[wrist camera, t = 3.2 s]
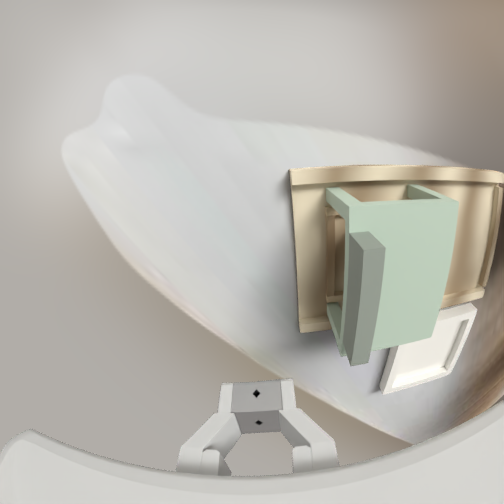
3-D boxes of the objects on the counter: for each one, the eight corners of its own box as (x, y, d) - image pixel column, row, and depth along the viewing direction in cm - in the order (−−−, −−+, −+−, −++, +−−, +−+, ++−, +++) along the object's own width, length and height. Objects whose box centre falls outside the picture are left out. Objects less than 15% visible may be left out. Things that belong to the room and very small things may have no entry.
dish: (470, 302, 24) (477, 309, 22) (445, 366, 28) (450, 373, 26) (397, 320, 24) (402, 329, 23) (379, 385, 29) (382, 394, 27)
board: (495, 170, 18) (503, 173, 16) (476, 291, 23) (482, 297, 22) (289, 169, 19) (291, 171, 18) (298, 323, 25) (300, 333, 23)
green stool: (417, 184, 18) (481, 212, 11) (404, 300, 23) (443, 356, 15) (325, 187, 19) (364, 219, 12) (326, 312, 23) (348, 380, 16)
